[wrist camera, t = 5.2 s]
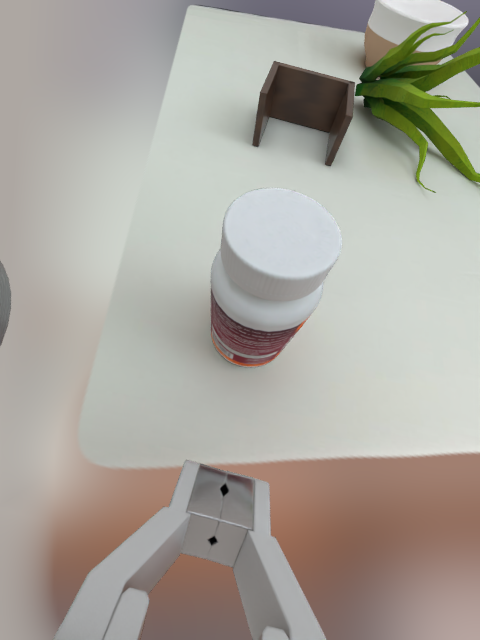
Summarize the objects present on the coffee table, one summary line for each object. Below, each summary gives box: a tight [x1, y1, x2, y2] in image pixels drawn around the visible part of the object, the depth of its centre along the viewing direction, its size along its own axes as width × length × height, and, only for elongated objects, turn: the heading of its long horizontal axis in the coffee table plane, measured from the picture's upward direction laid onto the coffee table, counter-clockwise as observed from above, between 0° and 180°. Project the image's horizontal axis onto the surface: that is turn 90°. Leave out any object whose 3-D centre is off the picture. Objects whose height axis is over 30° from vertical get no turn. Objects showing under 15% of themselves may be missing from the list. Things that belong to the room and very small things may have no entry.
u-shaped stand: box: [253, 61, 355, 166], centre depth 31 cm, size 11×9×6 cm
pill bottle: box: [211, 188, 342, 367], centre depth 15 cm, size 6×6×11 cm
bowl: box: [364, 0, 469, 67], centre depth 45 cm, size 16×16×8 cm
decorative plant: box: [355, 11, 480, 193], centre depth 29 cm, size 18×30×15 cm, turn 7°
